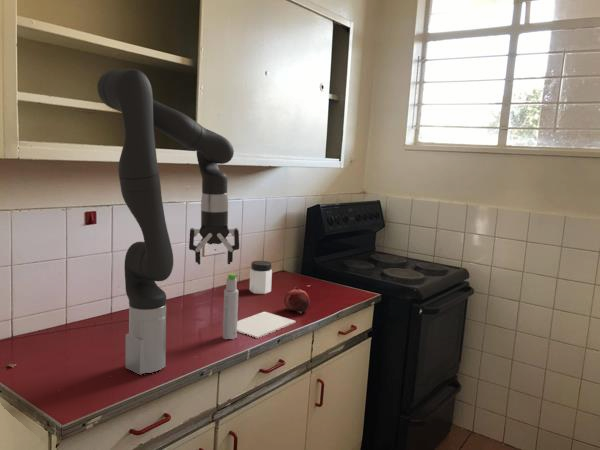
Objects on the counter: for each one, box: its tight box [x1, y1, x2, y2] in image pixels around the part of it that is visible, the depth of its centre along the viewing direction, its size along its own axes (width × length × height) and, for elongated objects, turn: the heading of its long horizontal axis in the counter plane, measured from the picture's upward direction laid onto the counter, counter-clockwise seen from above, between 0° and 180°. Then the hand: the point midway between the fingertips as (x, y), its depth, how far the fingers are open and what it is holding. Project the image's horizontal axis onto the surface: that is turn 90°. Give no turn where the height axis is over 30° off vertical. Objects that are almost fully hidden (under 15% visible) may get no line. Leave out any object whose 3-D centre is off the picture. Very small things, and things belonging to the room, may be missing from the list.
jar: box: [249, 260, 273, 295], centre depth 206 cm, size 9×8×12 cm
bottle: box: [222, 273, 239, 340], centre depth 154 cm, size 4×4×20 cm
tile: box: [237, 311, 297, 339], centre depth 168 cm, size 20×14×1 cm
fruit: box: [283, 284, 311, 314], centre depth 183 cm, size 9×10×10 cm
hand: (214, 263), depth 146 cm, fingers open, 8 cm apart
